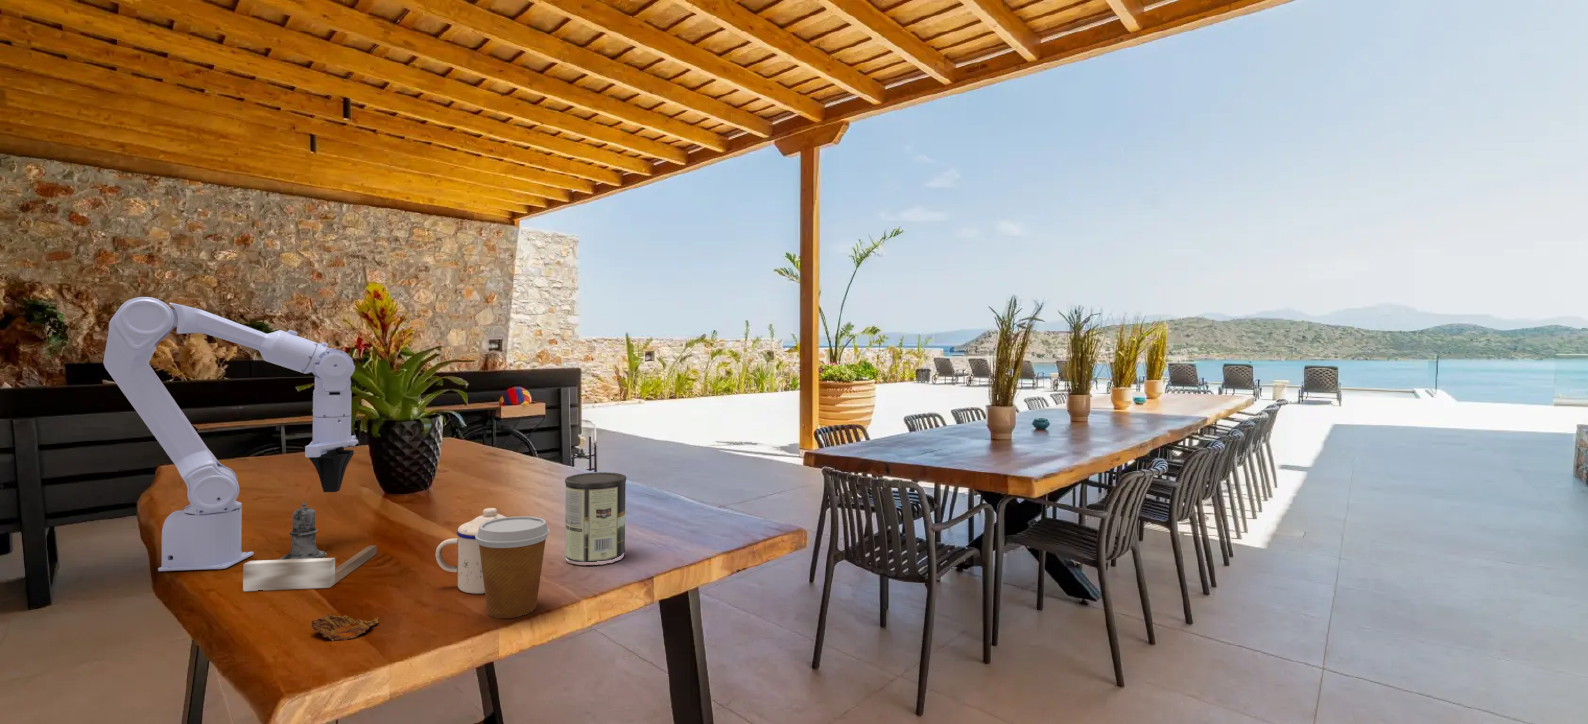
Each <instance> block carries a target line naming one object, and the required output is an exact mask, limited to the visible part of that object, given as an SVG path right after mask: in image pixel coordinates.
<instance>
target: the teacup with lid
mask: <svg viewBox="0 0 1588 724" xmlns="http://www.w3.org/2000/svg"><path fill="white" fill-rule="evenodd" d="M506 517H507V516H505V515H503V514H499V513H498V510H497V508H496V507H487V508H484V509H483V510H482V515H479V516H477V517H475V518H473V519H472V520H470V521H468V522H465V523H463V524H461V525H459V527H458V528H457V531H456V535H457V536H458V538H457V537H456V538H454V537H453V538H448V539H445V540H443V541H441V543H440V544H438V546H437V547H436V550H435V559H436V562H437V564H438V565H439V567H440V568H441V569H442V570H444V571H446V572H451V573H457V588H458V589H459V591H461V592H463V593H466V594H467V593H468V594H473V595H477V594H478V595H479V594H480V595H481V594H483V595H485V594H484V593H485V589H484V581H483V573H482V565H481V557H480V549H479V544H478V543H477V540H476V539H475V535H476V534H477V533H478V529H479V526H480V525H481V524H482V523H484V522H487V521H490V520H494V519H499V518H506ZM449 545H457V546H458V547H457V550H458V552H457V557H458V558H457V560H458V561H457V566H456V565H450V564H448V563H447V562H446V561H445V560H444V558H443V555H442V553H443V552H442V550H443V548H444V547H445V546H449Z"/></svg>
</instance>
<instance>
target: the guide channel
mask: <svg viewBox="0 0 1588 724" xmlns="http://www.w3.org/2000/svg"><path fill="white" fill-rule="evenodd" d="M377 546H378V545H377V544H376V545H367V546H366V547H365V548H363V549H362V550H360V551H358V552H357V553H356V554H355V555H353V556H352V557H350V558H349V559H347V560H345V561H344V562H343V563H341V564H340V565H337V567H336V557H324V558H314V559H286V560H280V559H265V560H263V559H262V560H249V561H247V562H244V563H243V564H242V566H243V569H242V573H243V574H242V584H243V585H242V591H243V592H257V591H258V590H263V591H278V590H279V591H282V590H283V591H284V590H305V589H307V590H308V589H326V588H327V589H328V588H332V587H333V586H334V585H335V584H337V583H338V582H340V581H341V580H343V579H345V578H346V577H347V576H348V575H349V574H351V573H352V572H353V571H355V570H356V569H358V568H359V567H361V565H363V564H365V563H367V562H368V561H369V560H370V559H371V558H373V557H375V556H376V555H377V554H378V548H377ZM258 592H259V591H258Z"/></svg>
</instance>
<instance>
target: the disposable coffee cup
mask: <svg viewBox="0 0 1588 724" xmlns="http://www.w3.org/2000/svg"><path fill="white" fill-rule="evenodd" d="M505 517H506V518H499V519H494V520H490V521H487V522H484V523H482V524H481V525H480V526H479V529H478V533H477V534H476V535H475V539H476V540H477V543H478V544H479V549H480V557H481V565H482V573H483V581H484V589H485V594H484V597H485V602H486V604H485V605H486V611H487V612H486V614H487V615H488V616H490V617H492V618H496V619H512V618H518V617H523V616H525V615H528V614H531V613H532V612H533V610H534V609H535V608H536V609H537V603H538V597H539V590H540V582H541V575H542V568H543V563H544V562H543V561H544V554H545V547H546V540H547V538H548V535H549V533H550V528H549V527H548V526H547V521H546V520H545V519H543V518H541V517H537V516H525V515H524V516H523V515H522V516H521V515H520V516H509V517H508V516H505ZM536 609H535V610H536ZM535 610H534V611H535ZM530 612H531V613H530ZM522 615H523V616H522Z"/></svg>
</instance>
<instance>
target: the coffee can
mask: <svg viewBox="0 0 1588 724" xmlns="http://www.w3.org/2000/svg"><path fill="white" fill-rule="evenodd" d="M626 481H627V475H625V474H622V473H618V472H607V471H605V472H598V471H597V472H586V473H578V474H577V473H576V474H573V475H570V476H567V477H565V479H564V483H565V533H564V534H565V538H564V539H565V542H564V544H565V546H564V548H565V550H564V551H565V552H564V553H565V554H564V560H565V559H566V560H567V561H572V562H578V563H579V562H580V563H582V562H584V563H585V562H597V561H609V560H613V559H615V558H617V557H619V556H621V555H622V554H623V553H624V552H625V553H626V483H627V482H626Z"/></svg>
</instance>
